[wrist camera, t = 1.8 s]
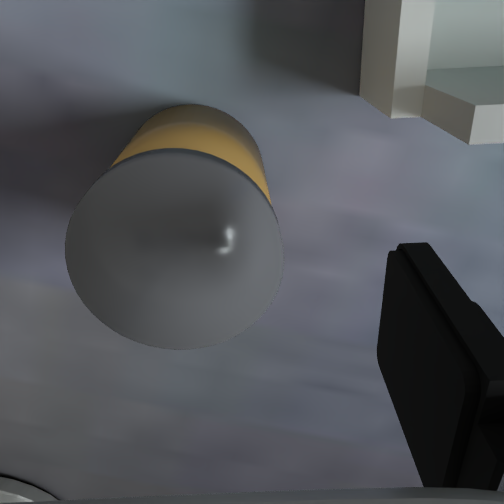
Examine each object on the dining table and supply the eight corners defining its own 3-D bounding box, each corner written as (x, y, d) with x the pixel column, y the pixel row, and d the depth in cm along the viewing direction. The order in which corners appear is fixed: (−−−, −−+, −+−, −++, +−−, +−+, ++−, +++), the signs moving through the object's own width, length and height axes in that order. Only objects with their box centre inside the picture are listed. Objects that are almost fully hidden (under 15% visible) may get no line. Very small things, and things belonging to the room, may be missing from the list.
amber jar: (267, 235, 22) (285, 343, 15) (135, 242, 22) (89, 355, 15) (263, 98, 19) (283, 152, 12) (111, 105, 19) (40, 164, 12)
